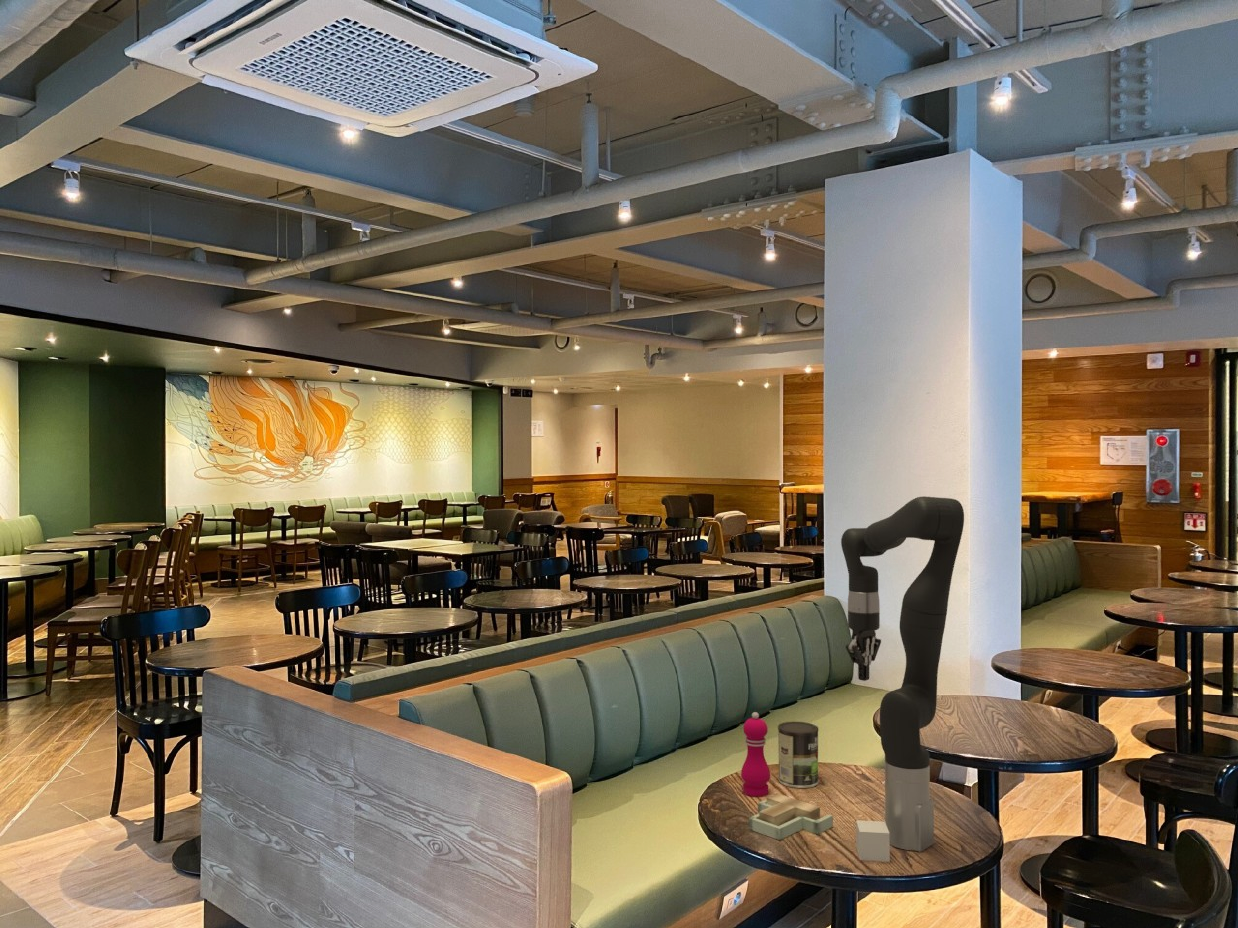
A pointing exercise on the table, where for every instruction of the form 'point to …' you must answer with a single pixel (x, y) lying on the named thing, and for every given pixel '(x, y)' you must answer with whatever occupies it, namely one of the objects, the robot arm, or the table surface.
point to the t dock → (788, 824)
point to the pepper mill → (755, 758)
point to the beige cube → (872, 841)
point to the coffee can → (798, 754)
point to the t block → (787, 810)
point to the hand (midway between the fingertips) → (863, 679)
